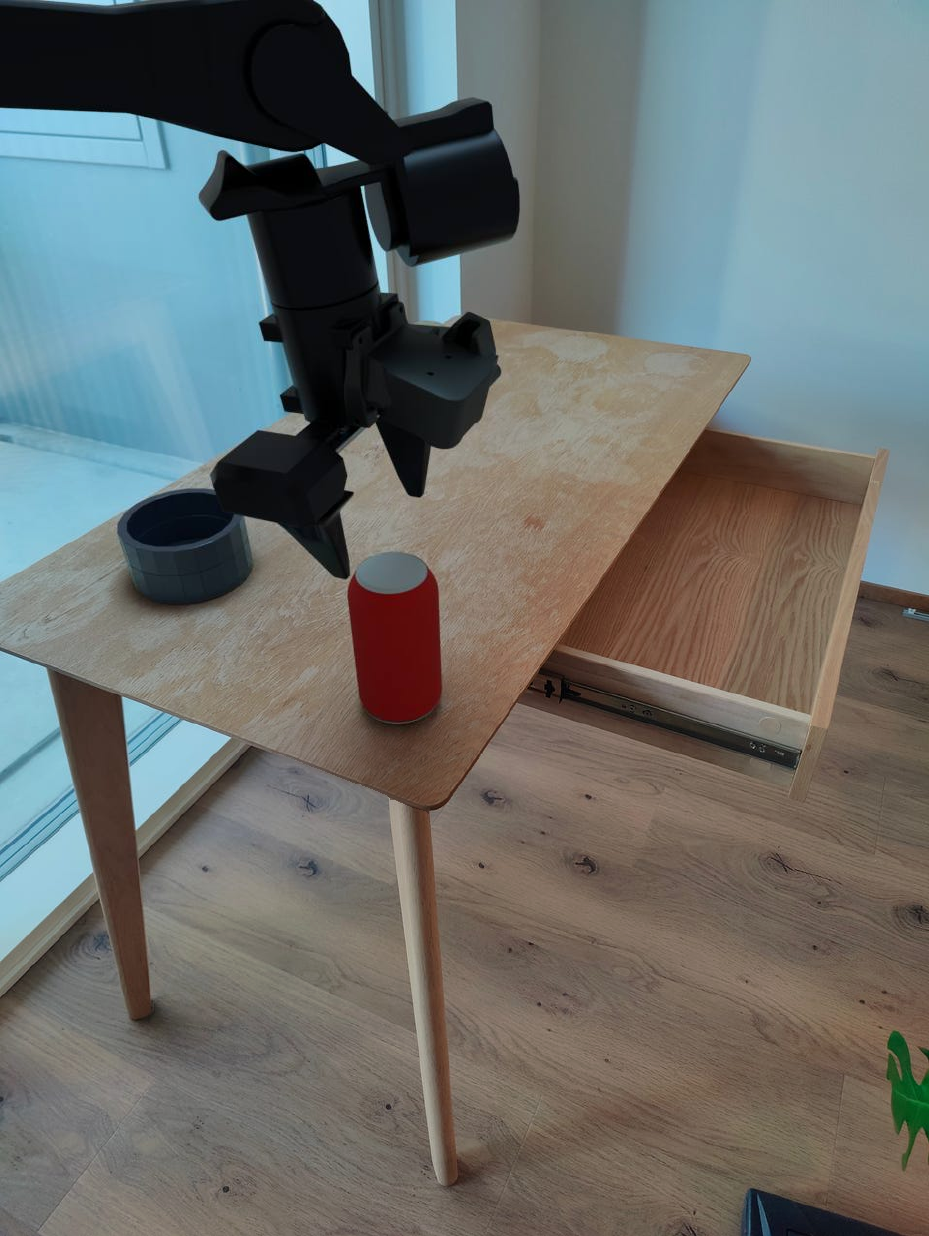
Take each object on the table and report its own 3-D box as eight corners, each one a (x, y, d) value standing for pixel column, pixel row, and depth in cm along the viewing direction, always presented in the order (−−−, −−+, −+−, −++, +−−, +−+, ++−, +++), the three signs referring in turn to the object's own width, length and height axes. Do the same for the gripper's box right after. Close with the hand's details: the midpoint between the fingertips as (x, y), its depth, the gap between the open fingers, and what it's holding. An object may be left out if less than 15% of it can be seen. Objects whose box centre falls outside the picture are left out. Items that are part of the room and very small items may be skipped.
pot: (184, 619, 70) (170, 566, 67) (108, 577, 75) (91, 525, 72) (277, 562, 77) (267, 510, 74) (201, 526, 82) (190, 476, 79)
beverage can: (354, 730, 60) (337, 596, 53) (366, 673, 65) (352, 542, 57) (439, 732, 60) (434, 598, 52) (445, 674, 65) (440, 544, 57)
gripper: (357, 384, 34) (418, 659, 44) (538, 232, 46) (553, 476, 56) (157, 360, 39) (254, 615, 49) (368, 228, 50) (411, 454, 61)
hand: (381, 534), depth 53 cm, fingers open, 9 cm apart
